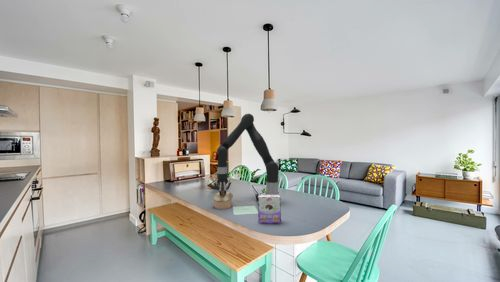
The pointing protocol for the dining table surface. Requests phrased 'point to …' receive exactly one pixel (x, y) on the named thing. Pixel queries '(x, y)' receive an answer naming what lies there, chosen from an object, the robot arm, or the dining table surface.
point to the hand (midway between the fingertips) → (222, 195)
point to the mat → (245, 210)
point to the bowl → (222, 204)
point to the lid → (222, 196)
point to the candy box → (269, 209)
